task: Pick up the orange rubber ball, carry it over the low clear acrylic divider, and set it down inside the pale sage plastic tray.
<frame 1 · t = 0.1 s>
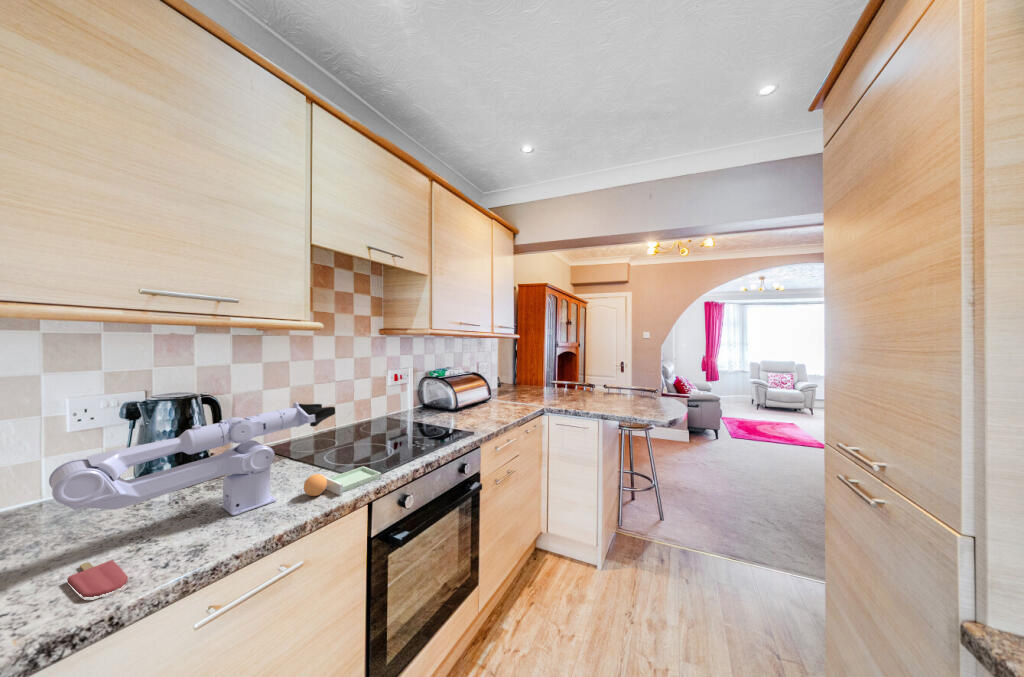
hand: (327, 408, 104), 22 cm above the table, tool horizontal, fingers open, 7 cm apart
popsicle: (96, 583, 60), on the table
tray: (354, 480, 103), on the table
acrylic wall: (329, 489, 97), on the table
ball: (315, 484, 93), point 3 cm above the table
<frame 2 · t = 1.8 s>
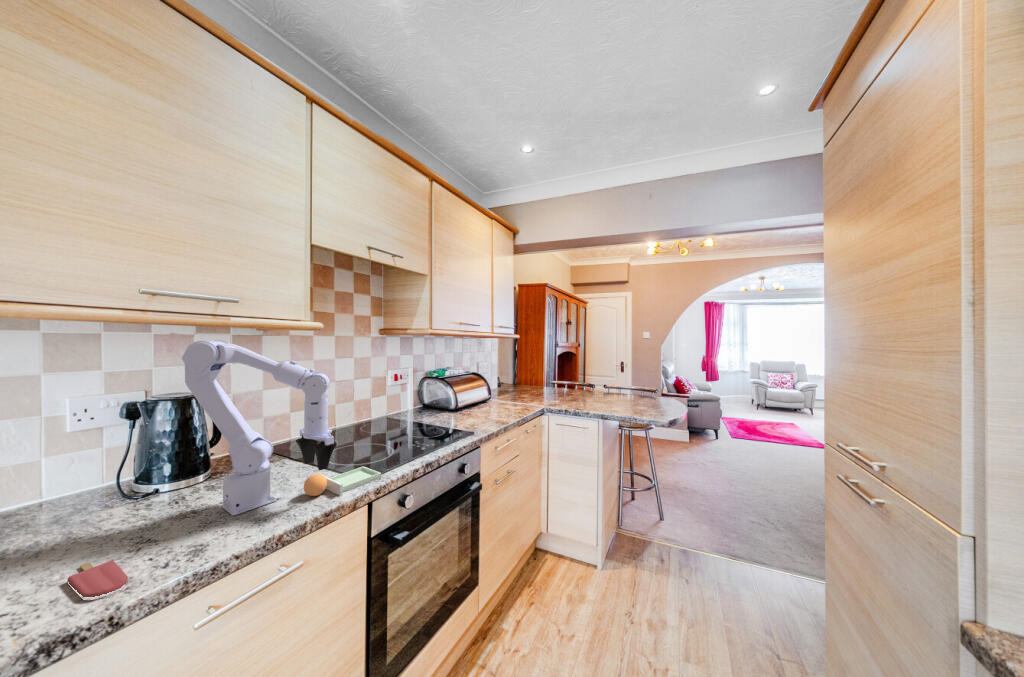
hand: (315, 465, 93), 8 cm above the table, tool pointing down, fingers open, 7 cm apart
nothing on the table moved.
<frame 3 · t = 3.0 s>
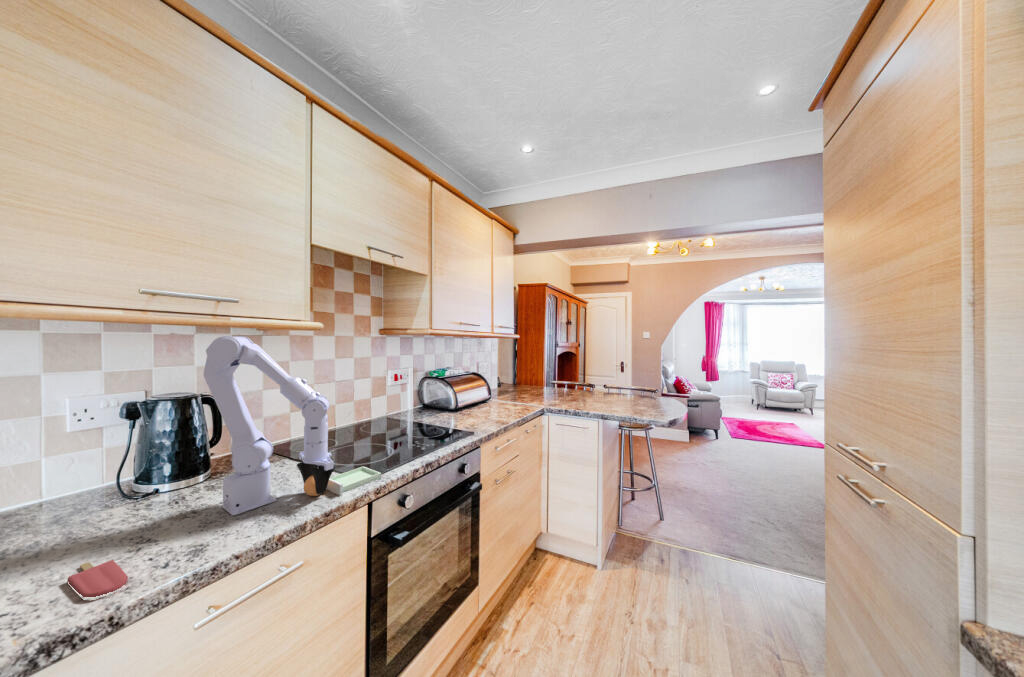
hand: (315, 489, 93), 1 cm above the table, tool pointing down, fingers closed on ball, 6 cm apart
ball: (315, 484, 93), point 3 cm above the table, touching gripper
everything else where it was.
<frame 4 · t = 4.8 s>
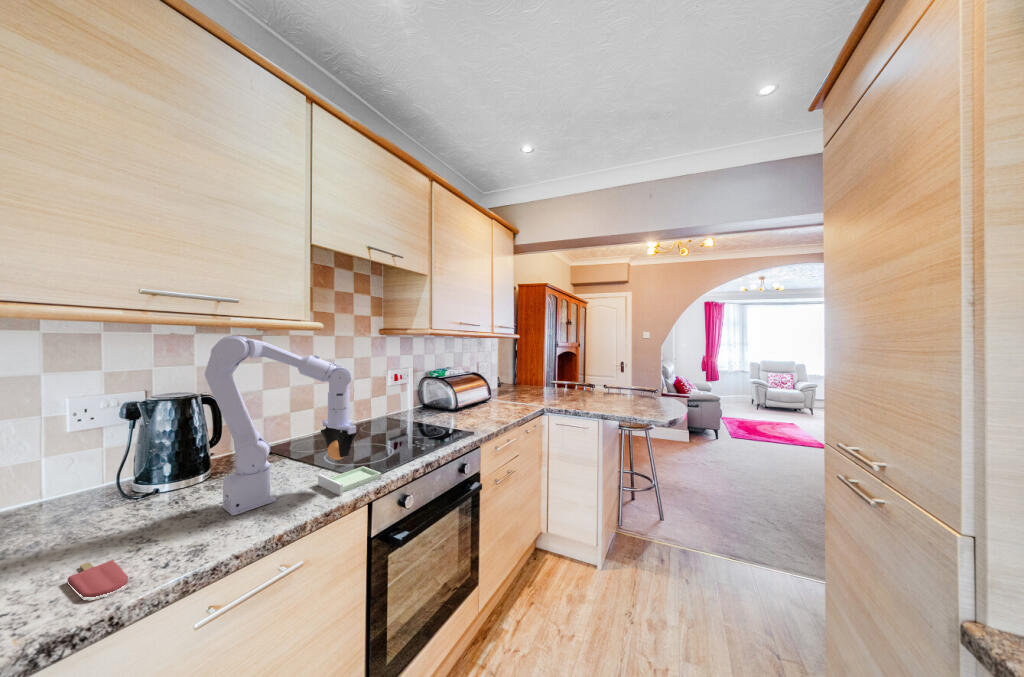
hand: (338, 454, 98), 10 cm above the table, tool pointing down, fingers closed on ball, 6 cm apart
ball: (338, 449, 98), point 11 cm above the table, touching gripper
everything else where it was.
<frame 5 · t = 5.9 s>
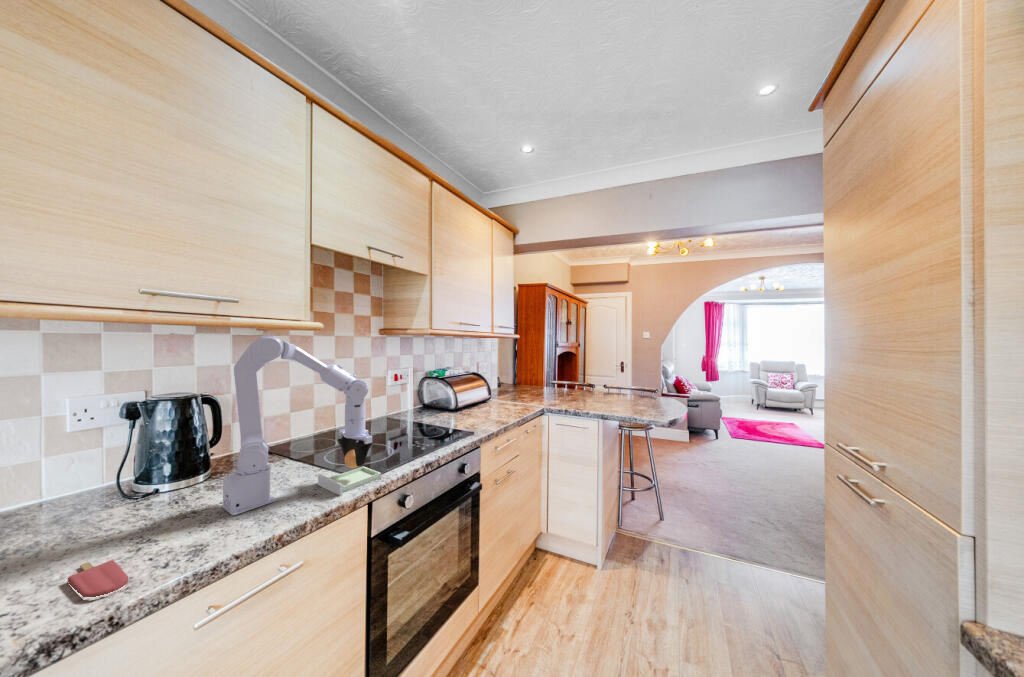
hand: (354, 462, 103), 5 cm above the table, tool pointing down, fingers closed on ball, 6 cm apart
ball: (354, 458, 103), point 7 cm above the table, touching gripper
everything else where it was.
when the fingers open (3 cm above the table, at t = 6.9 s): ball stays where it is, resting on tray.
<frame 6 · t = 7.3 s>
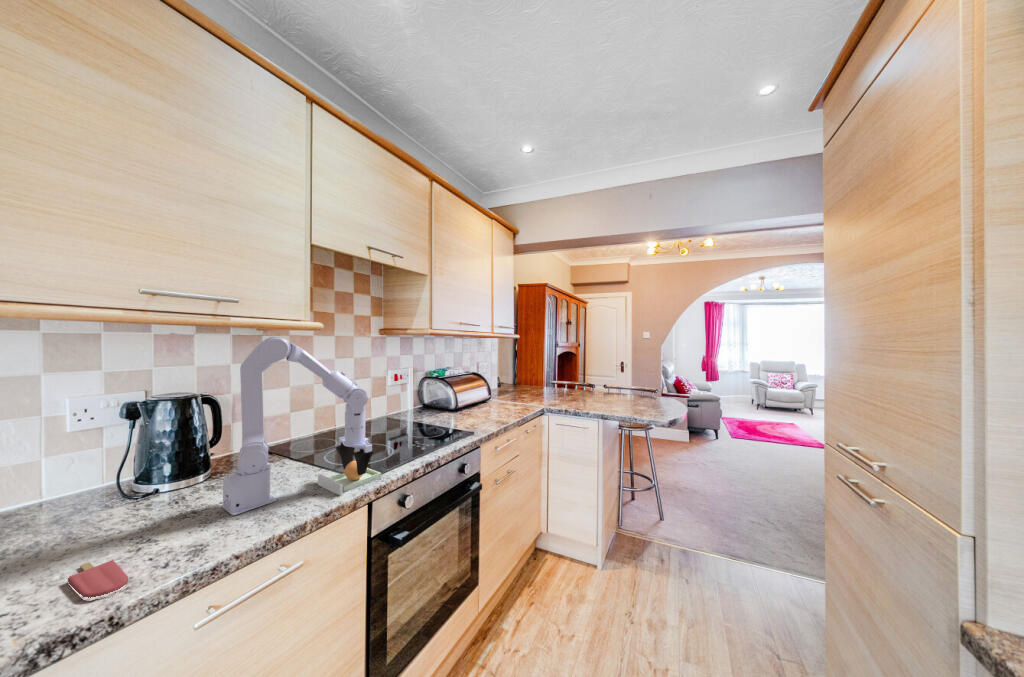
hand: (354, 471, 103), 3 cm above the table, tool pointing down, fingers open, 7 cm apart
ball: (354, 470, 103), point 3 cm above the table, tilted 5°, touching tray
everything else where it was.
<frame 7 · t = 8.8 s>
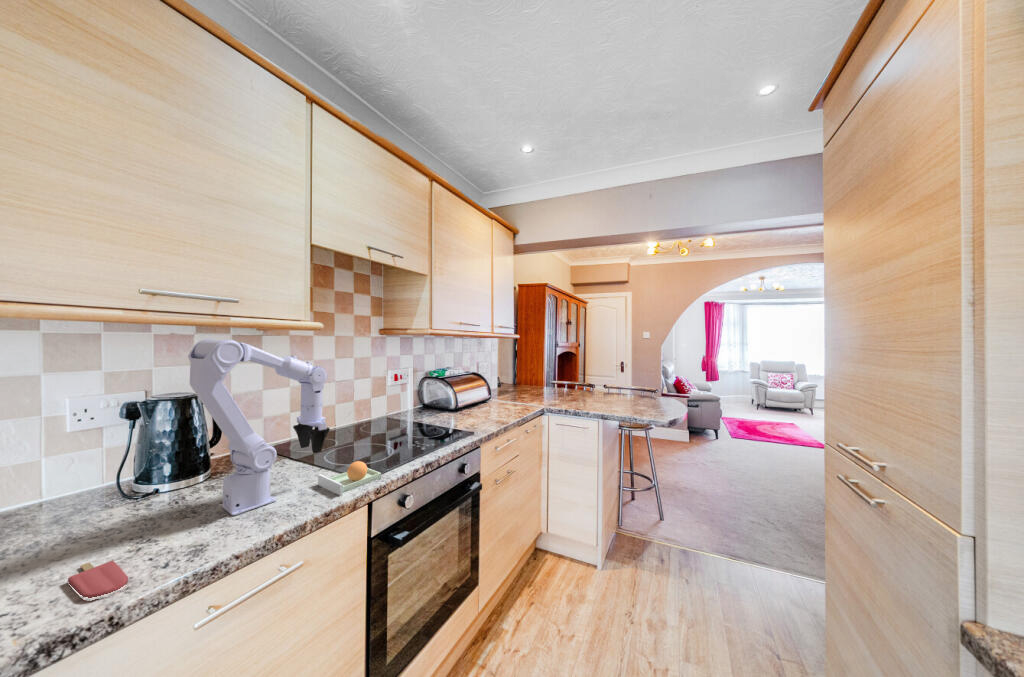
hand: (310, 449, 103), 9 cm above the table, tool pointing down, fingers open, 7 cm apart
ball: (357, 470, 102), point 3 cm above the table, tilted 30°, touching tray
everything else where it was.
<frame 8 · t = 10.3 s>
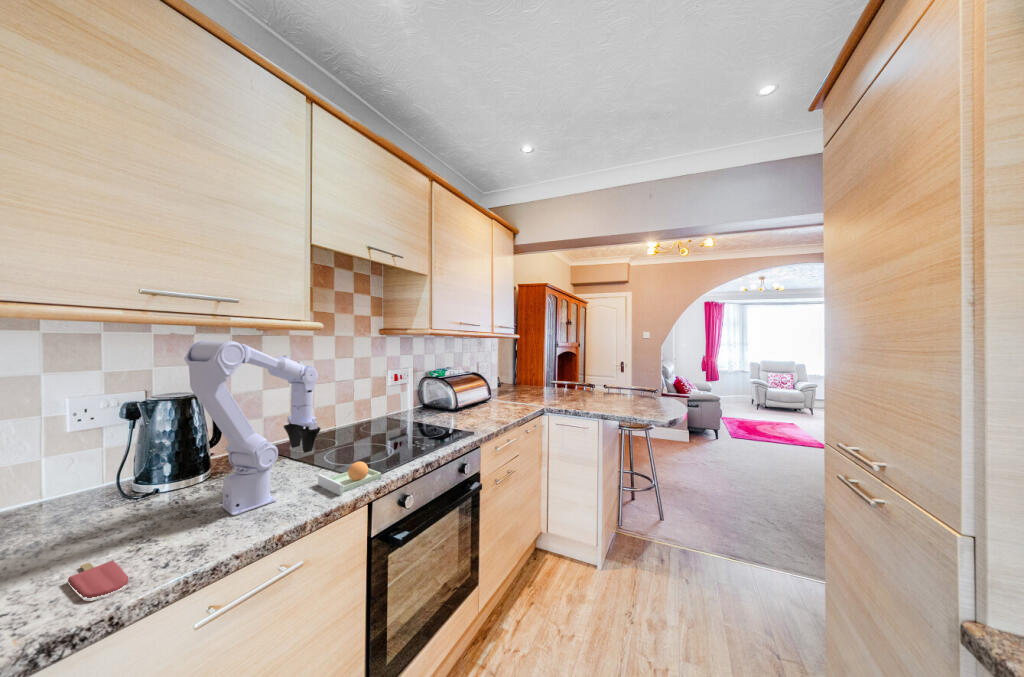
hand: (301, 449, 103), 9 cm above the table, tool pointing down, fingers open, 7 cm apart
ball: (358, 471, 102), point 3 cm above the table, tilted 39°, touching tray
everything else where it was.
at the end: ball 1.9 cm off-centre on the tray, point 3.3 cm above the tray's base; the gripper is holding nothing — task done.
